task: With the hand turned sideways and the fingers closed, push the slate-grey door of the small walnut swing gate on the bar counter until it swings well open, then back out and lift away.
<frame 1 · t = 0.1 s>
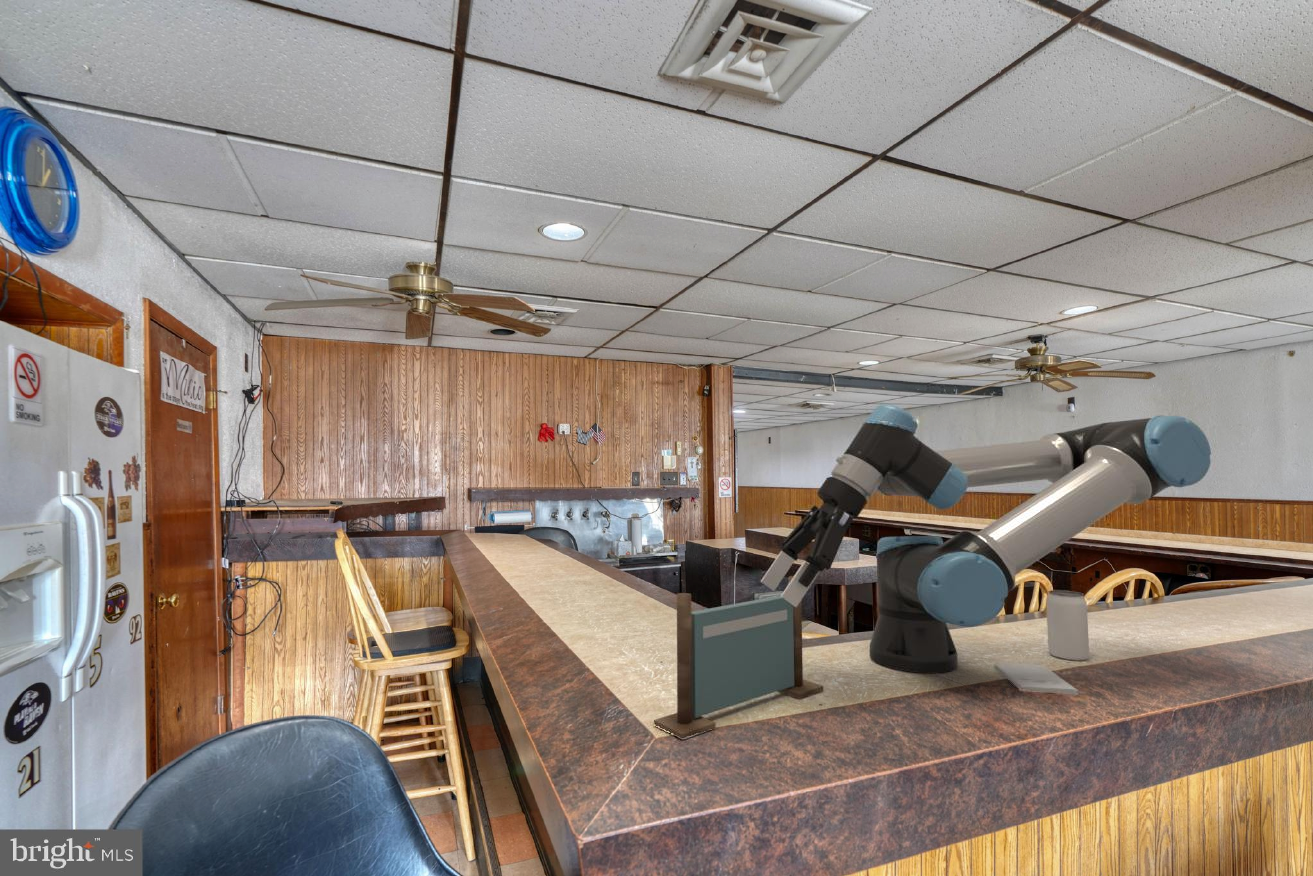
hand: (776, 593, 99), 15 cm above the counter, tool tilted 35°, fingers open, 13 cm apart
external hard drive: (1033, 685, 102), on the counter
gate frame: (796, 689, 98), on the counter
can: (1068, 657, 116), on the counter
gate door: (744, 651, 91), point 8 cm above the counter, hinge at 0.0°
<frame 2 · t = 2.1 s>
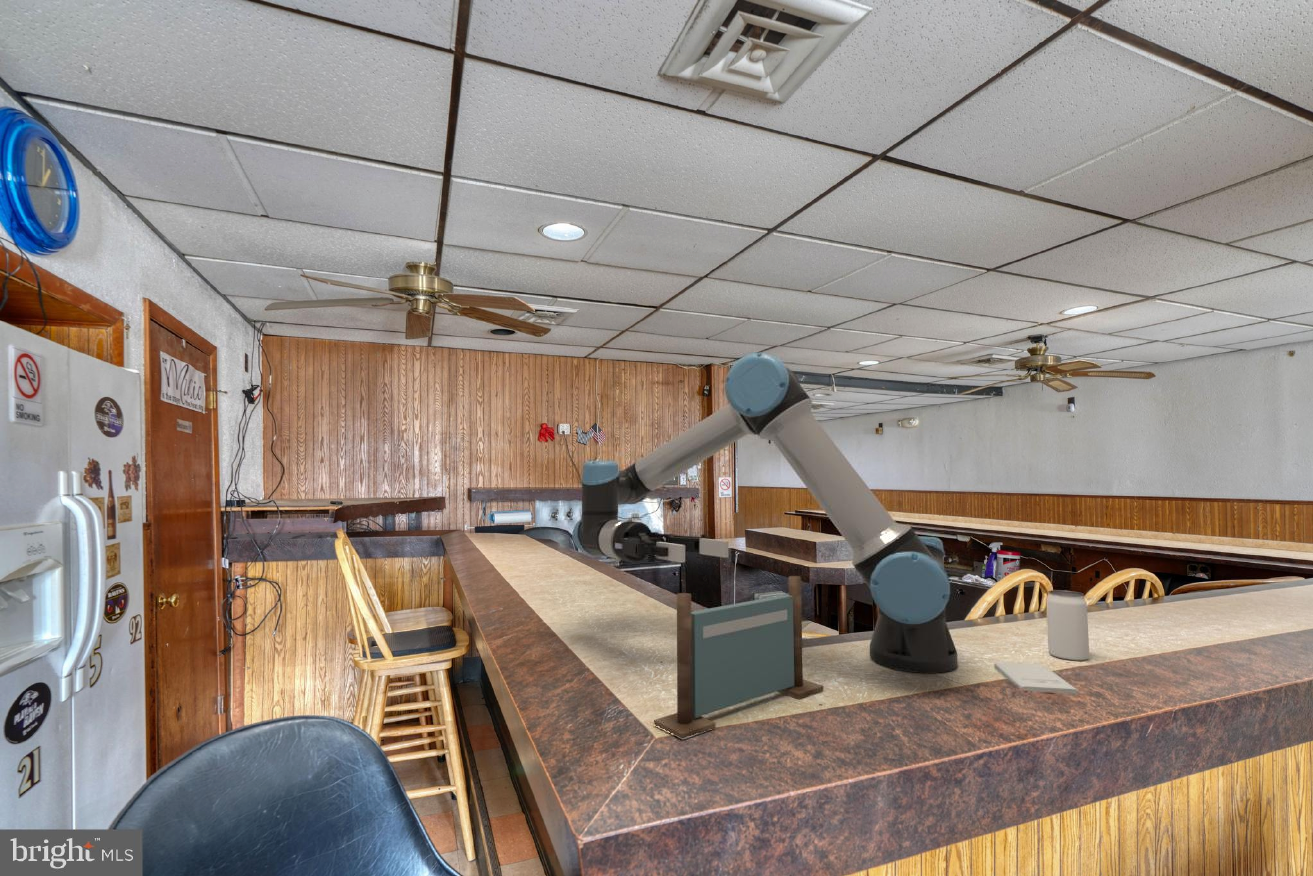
hand: (705, 551, 100), 22 cm above the counter, tool horizontal, fingers open, 9 cm apart
nothing on the counter moved.
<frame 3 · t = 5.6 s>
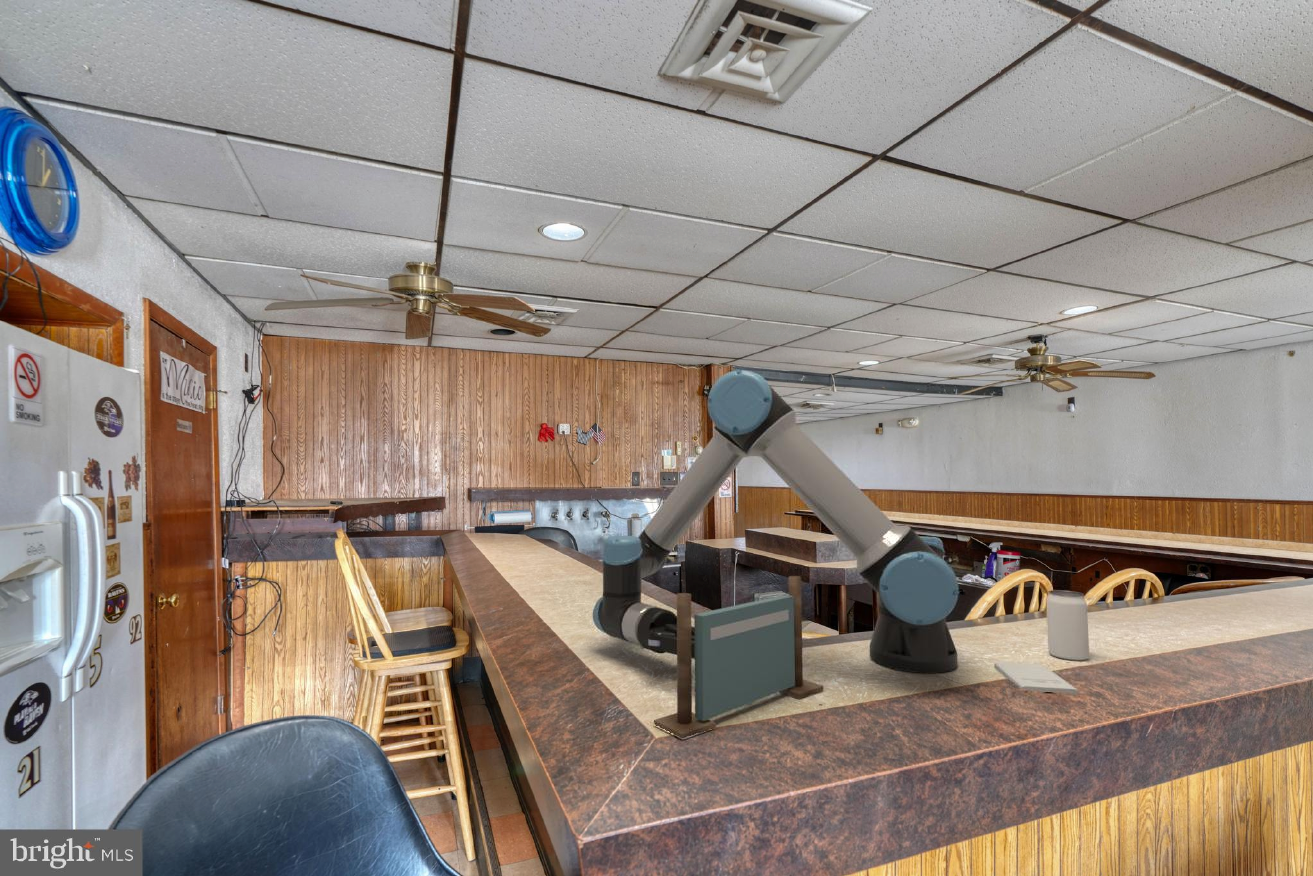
hand: (746, 658, 92), 7 cm above the counter, tool horizontal, fingers closed
gate door: (748, 652, 90), point 8 cm above the counter, hinge at 3.9°, touching gripper
everything else where it was.
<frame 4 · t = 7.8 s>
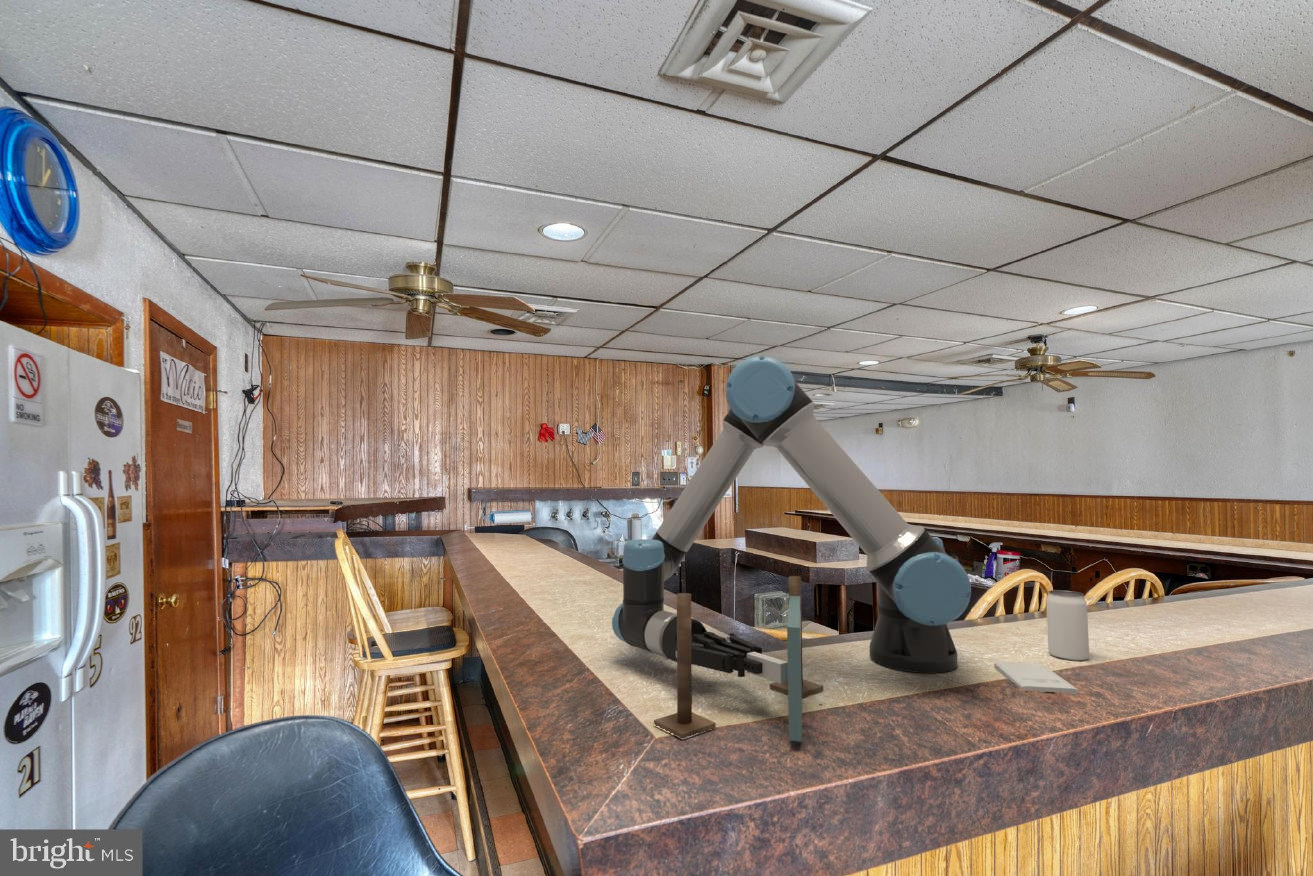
hand: (784, 672, 85), 7 cm above the counter, tool horizontal, fingers closed
gate door: (795, 659, 87), point 8 cm above the counter, hinge at 38.7°, touching gripper
everything else where it was.
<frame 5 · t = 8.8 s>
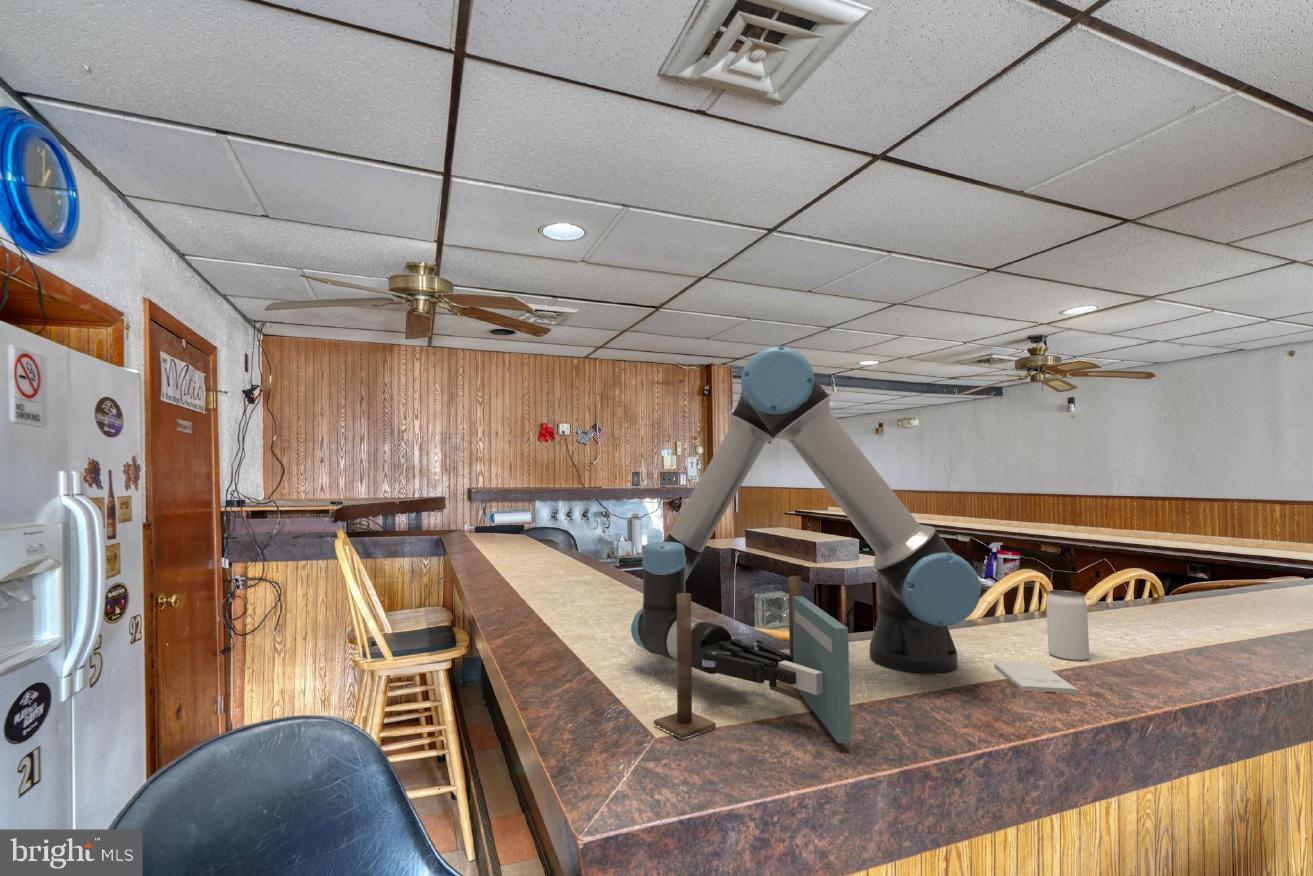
hand: (819, 683, 80), 7 cm above the counter, tool horizontal, fingers closed
gate door: (817, 660, 86), point 8 cm above the counter, hinge at 54.0°
everything else where it was.
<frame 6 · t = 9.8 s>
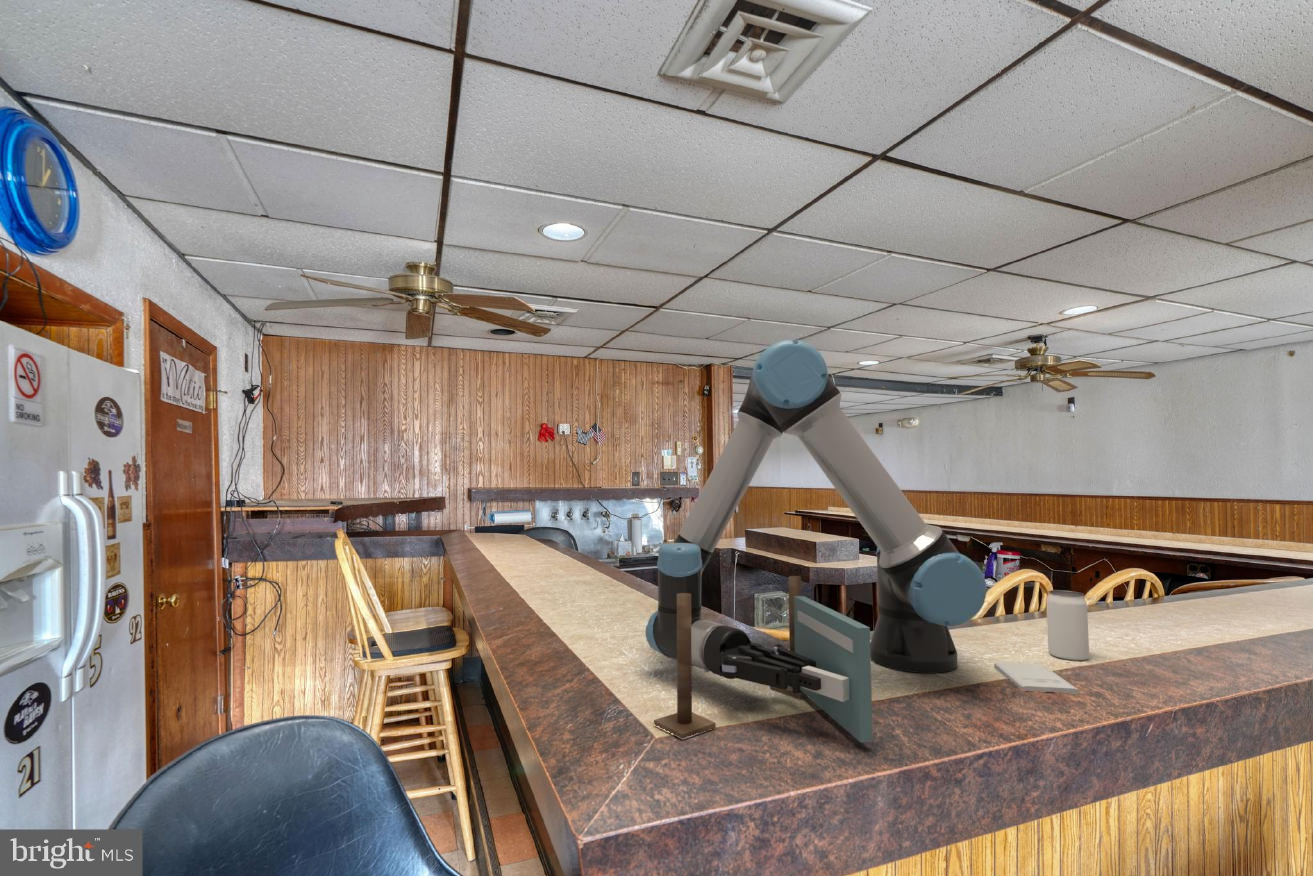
hand: (845, 689, 78), 7 cm above the counter, tool horizontal, fingers closed
gate door: (828, 659, 87), point 8 cm above the counter, hinge at 61.3°, touching gripper
everything else where it was.
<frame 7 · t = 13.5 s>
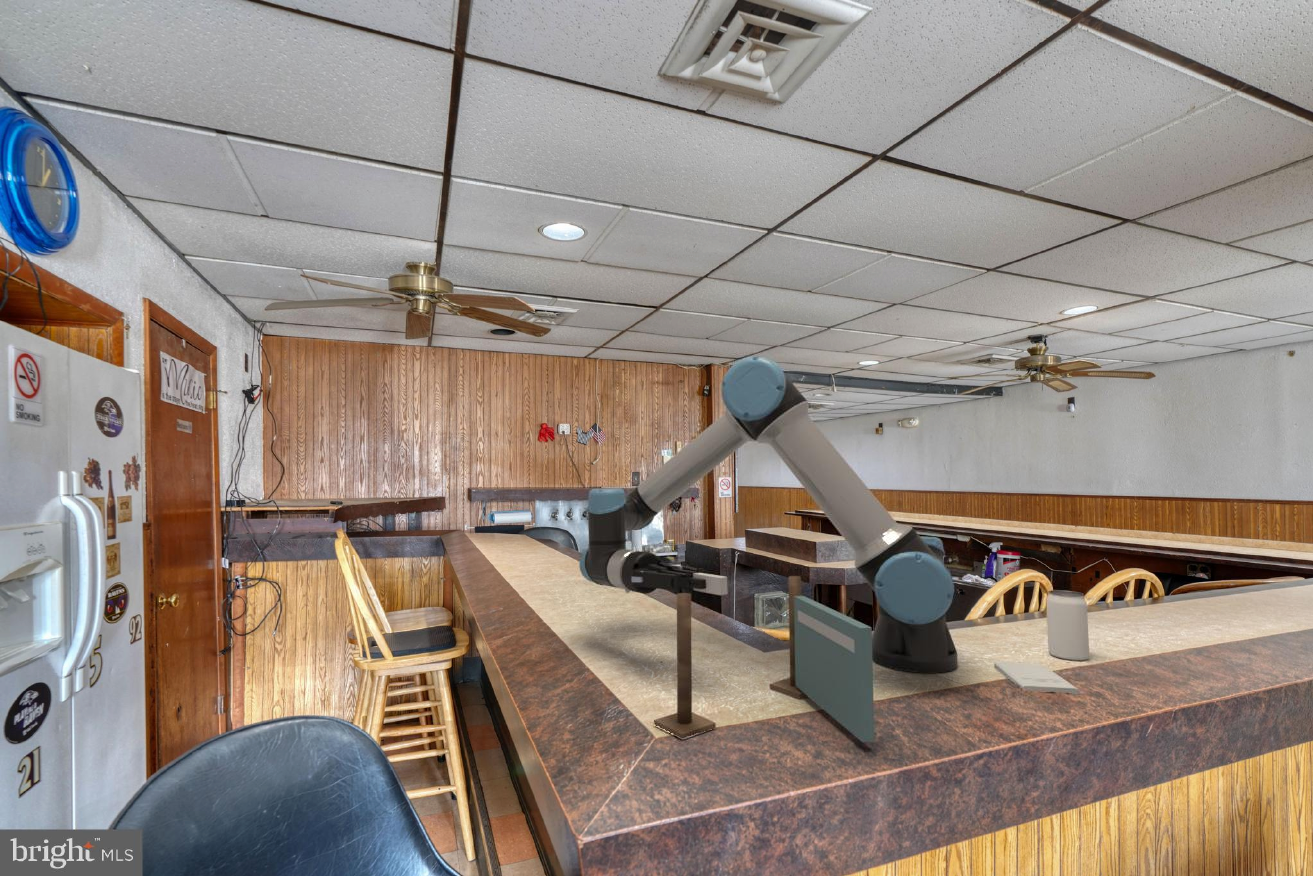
hand: (723, 586, 96), 17 cm above the counter, tool horizontal, fingers closed
gate door: (829, 659, 87), point 8 cm above the counter, hinge at 62.0°
everything else where it was.
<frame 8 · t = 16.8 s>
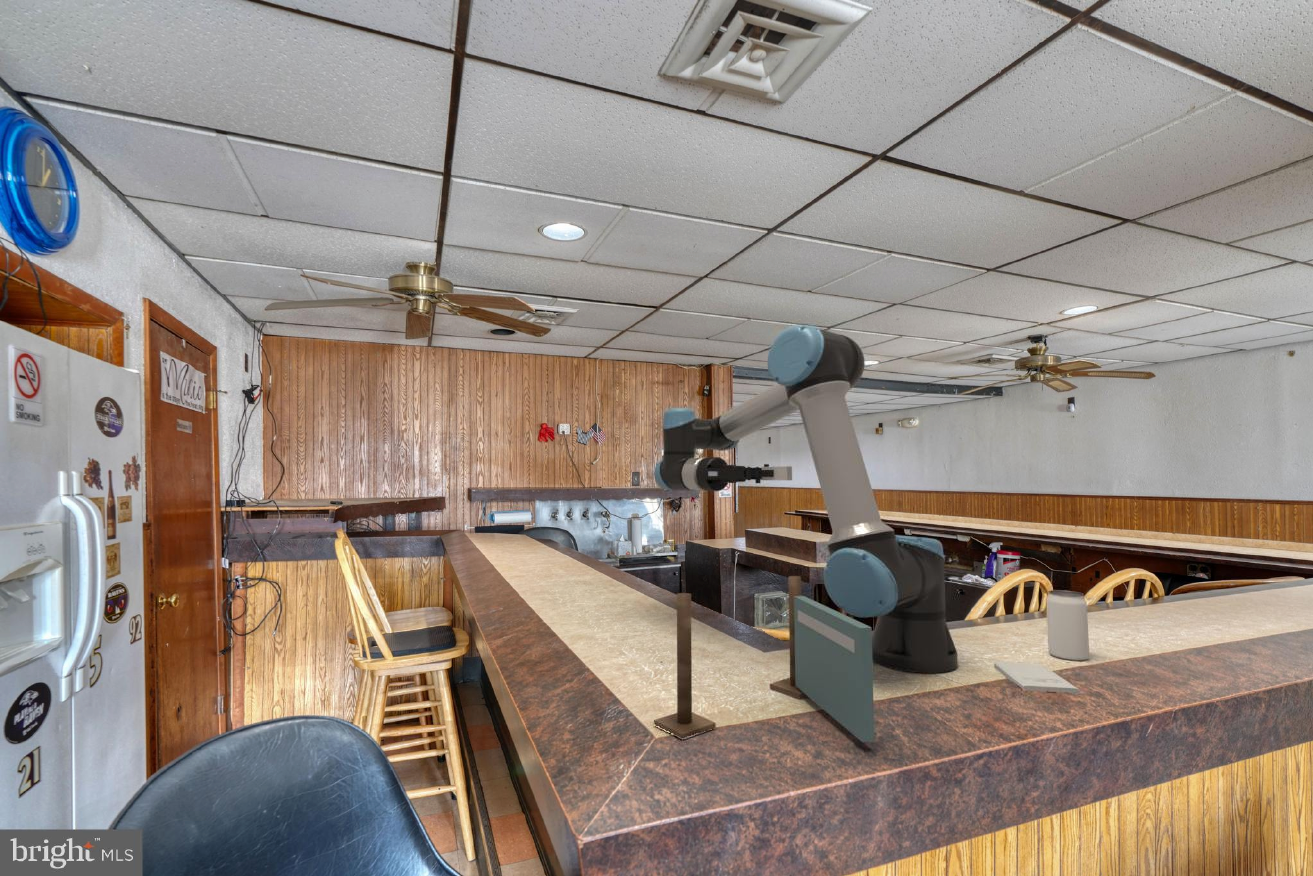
hand: (789, 473, 118), 35 cm above the counter, tool horizontal, fingers closed
nothing on the counter moved.
at the end: gate door at +62° (first picture: +0°) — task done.
